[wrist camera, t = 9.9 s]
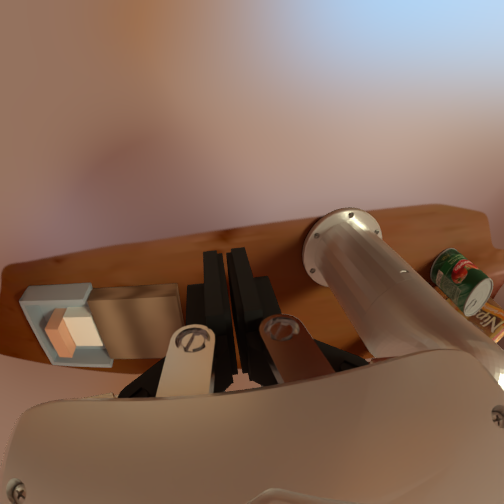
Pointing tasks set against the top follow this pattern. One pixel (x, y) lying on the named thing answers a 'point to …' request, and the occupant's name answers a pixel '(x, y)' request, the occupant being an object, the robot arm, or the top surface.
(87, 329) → the cream tile
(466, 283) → the canned tomato
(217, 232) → the top surface
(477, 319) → the candy box
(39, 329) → the tray
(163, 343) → the walnut board
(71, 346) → the terracotta tile
